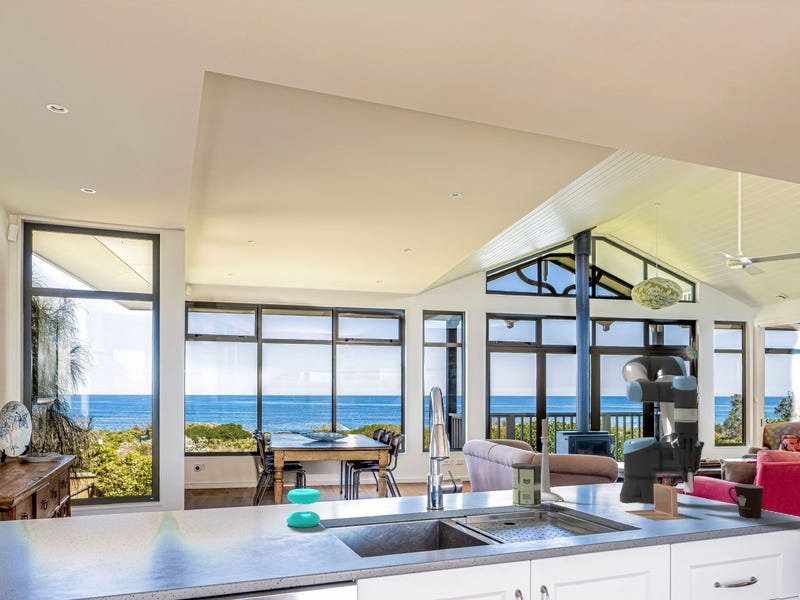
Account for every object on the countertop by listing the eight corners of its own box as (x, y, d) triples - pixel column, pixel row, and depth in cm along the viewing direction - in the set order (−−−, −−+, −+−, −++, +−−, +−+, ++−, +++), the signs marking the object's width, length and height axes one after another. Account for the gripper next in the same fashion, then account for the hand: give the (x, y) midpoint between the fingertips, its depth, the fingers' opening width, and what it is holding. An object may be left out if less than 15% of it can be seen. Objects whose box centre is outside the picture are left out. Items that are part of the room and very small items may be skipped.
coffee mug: (769, 519, 225) (768, 488, 226) (743, 519, 225) (741, 487, 226) (752, 512, 236) (751, 483, 237) (727, 512, 236) (725, 482, 238)
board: (623, 513, 231) (623, 511, 232) (658, 511, 236) (658, 509, 236) (655, 523, 216) (655, 520, 216) (691, 520, 221) (691, 518, 221)
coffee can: (532, 501, 252) (532, 462, 254) (546, 506, 242) (546, 466, 244) (507, 502, 249) (506, 463, 251) (519, 507, 239) (519, 466, 241)
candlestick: (561, 496, 264) (560, 417, 267) (565, 502, 251) (563, 419, 255) (527, 495, 265) (526, 417, 269) (529, 501, 253) (528, 418, 256)
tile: (654, 511, 232) (653, 483, 234) (659, 510, 233) (658, 483, 234) (672, 516, 224) (671, 487, 225) (677, 515, 225) (676, 487, 226)
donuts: (318, 487, 213) (322, 492, 204) (318, 520, 212) (322, 527, 203) (286, 488, 211) (289, 493, 201) (285, 522, 210) (287, 528, 200)
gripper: (678, 422, 229) (680, 494, 227) (709, 421, 234) (712, 493, 231) (662, 420, 237) (664, 491, 234) (693, 420, 241) (696, 489, 238)
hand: (688, 491), depth 232 cm, fingers closed
